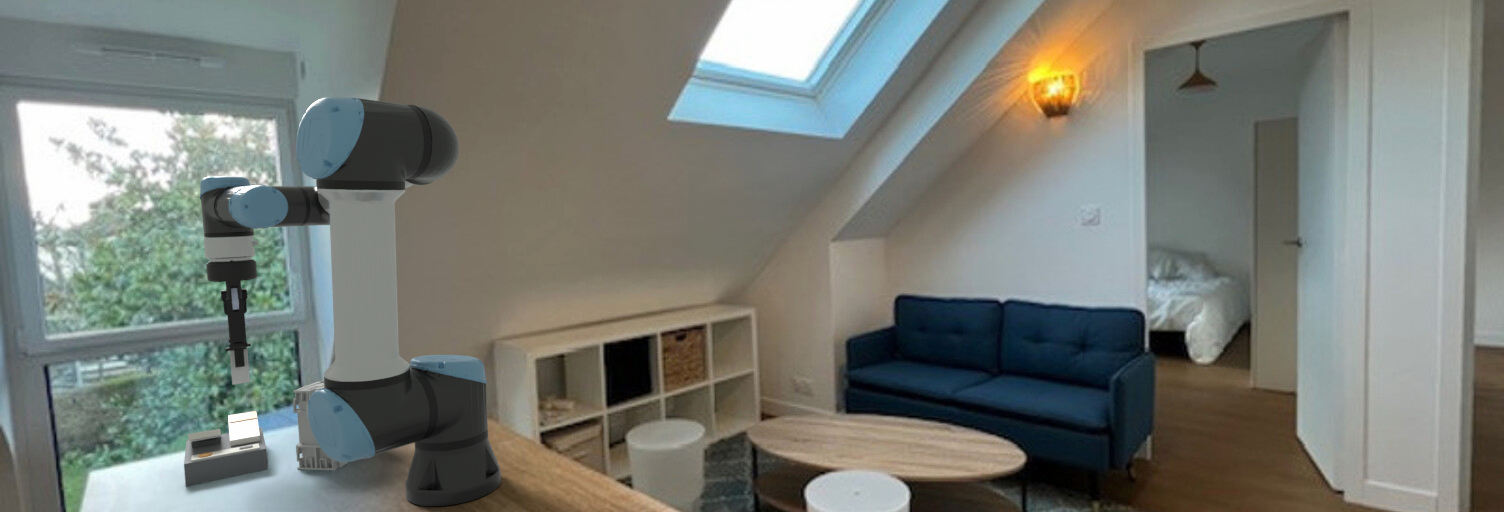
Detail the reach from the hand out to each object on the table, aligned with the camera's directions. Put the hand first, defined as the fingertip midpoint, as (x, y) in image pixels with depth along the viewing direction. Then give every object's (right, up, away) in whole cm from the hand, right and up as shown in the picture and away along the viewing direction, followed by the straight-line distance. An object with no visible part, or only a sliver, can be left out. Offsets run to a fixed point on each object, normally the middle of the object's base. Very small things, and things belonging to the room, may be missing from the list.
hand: (241, 382), depth 133 cm
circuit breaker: (+17, -15, +5) cm, 23 cm away
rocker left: (-7, -10, 0) cm, 12 cm away
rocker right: (-2, -10, +4) cm, 10 cm away
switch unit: (-3, -16, +1) cm, 16 cm away
